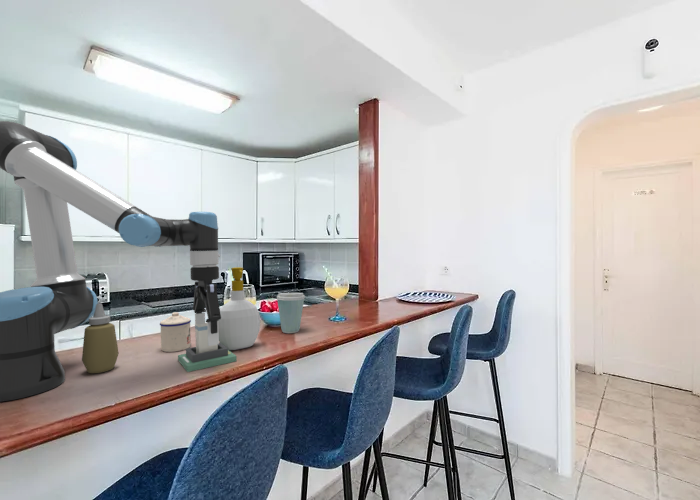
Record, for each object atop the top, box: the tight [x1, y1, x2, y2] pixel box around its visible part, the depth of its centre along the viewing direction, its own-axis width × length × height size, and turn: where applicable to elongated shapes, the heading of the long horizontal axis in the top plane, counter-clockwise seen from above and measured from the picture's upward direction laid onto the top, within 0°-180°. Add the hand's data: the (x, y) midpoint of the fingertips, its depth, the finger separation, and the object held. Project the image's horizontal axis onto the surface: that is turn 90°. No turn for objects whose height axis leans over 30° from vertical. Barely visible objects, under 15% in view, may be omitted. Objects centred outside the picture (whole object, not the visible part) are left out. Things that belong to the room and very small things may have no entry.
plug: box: [194, 322, 218, 354], centre depth 99 cm, size 5×4×9 cm
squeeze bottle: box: [81, 303, 120, 374], centre depth 93 cm, size 8×8×18 cm
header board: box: [177, 342, 237, 373], centre depth 99 cm, size 13×12×4 cm
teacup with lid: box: [159, 311, 192, 353], centre depth 113 cm, size 12×9×12 cm
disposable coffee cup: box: [276, 292, 306, 334], centre depth 131 cm, size 11×11×15 cm
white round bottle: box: [218, 266, 261, 351], centre depth 110 cm, size 14×9×26 cm, turn 125°
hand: (206, 339), depth 99 cm, fingers open, 13 cm apart
